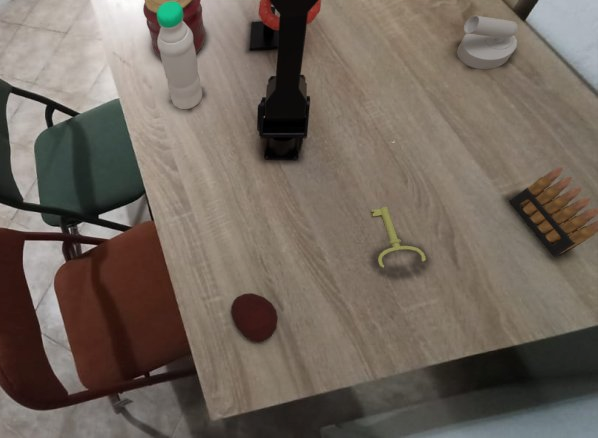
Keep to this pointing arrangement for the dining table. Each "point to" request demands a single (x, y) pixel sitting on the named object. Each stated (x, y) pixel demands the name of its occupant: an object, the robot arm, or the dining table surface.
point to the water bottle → (178, 56)
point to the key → (392, 235)
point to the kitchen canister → (190, 17)
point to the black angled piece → (263, 36)
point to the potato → (254, 316)
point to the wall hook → (487, 42)
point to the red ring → (273, 20)
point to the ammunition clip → (555, 213)
